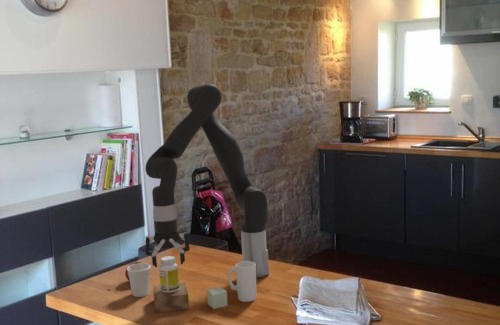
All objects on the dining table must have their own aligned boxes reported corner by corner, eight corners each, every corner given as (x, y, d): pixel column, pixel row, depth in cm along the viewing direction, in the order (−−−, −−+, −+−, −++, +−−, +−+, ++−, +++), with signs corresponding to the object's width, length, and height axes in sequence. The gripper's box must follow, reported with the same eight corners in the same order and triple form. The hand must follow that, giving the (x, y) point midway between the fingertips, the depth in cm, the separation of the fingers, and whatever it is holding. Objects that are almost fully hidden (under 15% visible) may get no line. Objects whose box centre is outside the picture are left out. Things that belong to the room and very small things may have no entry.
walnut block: (186, 296, 196) (185, 282, 195) (189, 308, 185) (188, 294, 185) (154, 300, 194) (153, 286, 193) (155, 312, 183) (154, 298, 183)
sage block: (221, 300, 191) (220, 286, 190) (227, 305, 186) (226, 291, 186) (207, 304, 189) (206, 289, 188) (213, 309, 184) (212, 294, 184)
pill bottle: (181, 286, 192) (179, 255, 190) (177, 293, 186) (175, 261, 184) (163, 286, 192) (161, 255, 191) (158, 293, 186) (156, 261, 185)
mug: (259, 295, 194) (258, 261, 192) (253, 303, 187) (251, 268, 186) (232, 293, 197) (230, 260, 195) (225, 300, 191) (223, 266, 189)
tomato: (129, 287, 207) (127, 266, 206) (123, 280, 215) (121, 260, 214) (152, 282, 211) (151, 262, 210) (145, 276, 219) (144, 256, 218)
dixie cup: (136, 288, 206) (134, 262, 204) (156, 290, 203) (154, 263, 202) (124, 297, 198) (121, 269, 197) (145, 299, 195) (143, 271, 194)
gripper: (185, 212, 190) (189, 259, 193) (142, 217, 187) (146, 264, 190) (187, 218, 183) (191, 266, 185) (143, 222, 180) (147, 271, 183)
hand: (168, 265), depth 188 cm, fingers open, 8 cm apart
